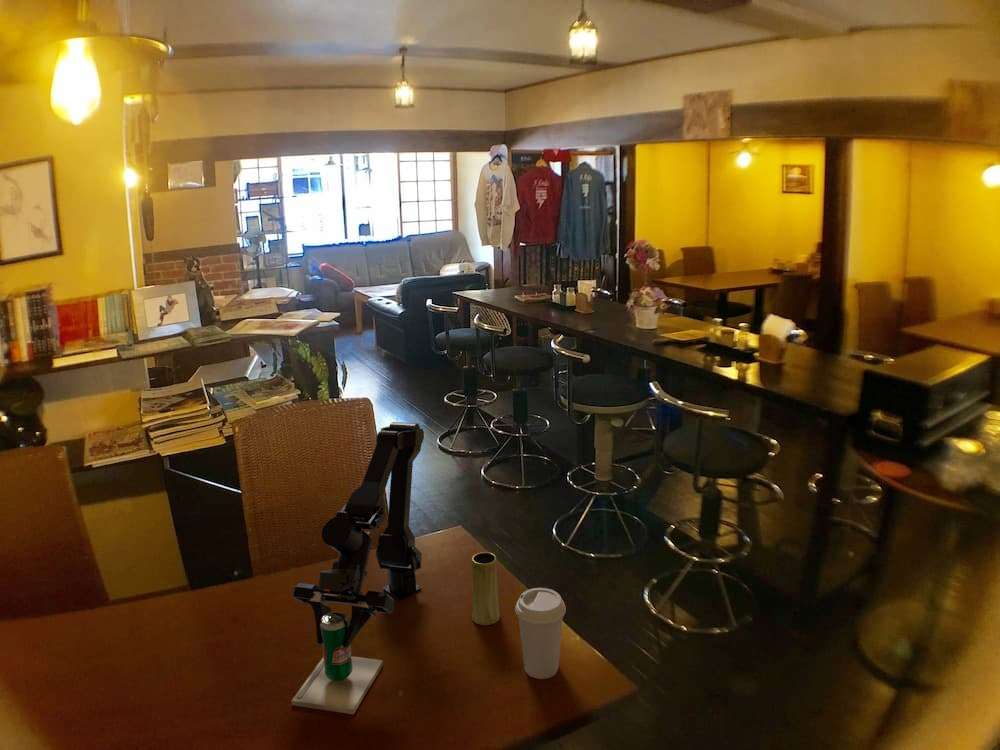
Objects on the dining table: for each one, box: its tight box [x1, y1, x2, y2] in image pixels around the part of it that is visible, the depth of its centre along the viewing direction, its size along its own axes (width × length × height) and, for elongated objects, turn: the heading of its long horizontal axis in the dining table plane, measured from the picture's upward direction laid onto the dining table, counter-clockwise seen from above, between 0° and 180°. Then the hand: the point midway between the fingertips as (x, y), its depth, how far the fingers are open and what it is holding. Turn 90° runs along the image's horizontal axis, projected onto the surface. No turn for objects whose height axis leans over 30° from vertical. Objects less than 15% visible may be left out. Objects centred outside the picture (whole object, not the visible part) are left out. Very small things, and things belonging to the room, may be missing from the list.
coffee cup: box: [514, 587, 567, 680], centre depth 140 cm, size 10×10×15 cm
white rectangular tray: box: [291, 655, 384, 715], centre depth 138 cm, size 14×12×1 cm
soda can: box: [320, 610, 353, 681], centre depth 137 cm, size 5×5×12 cm
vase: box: [471, 551, 501, 626], centre depth 157 cm, size 6×6×14 cm
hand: (332, 645), depth 135 cm, fingers closed on soda can, 5 cm apart
